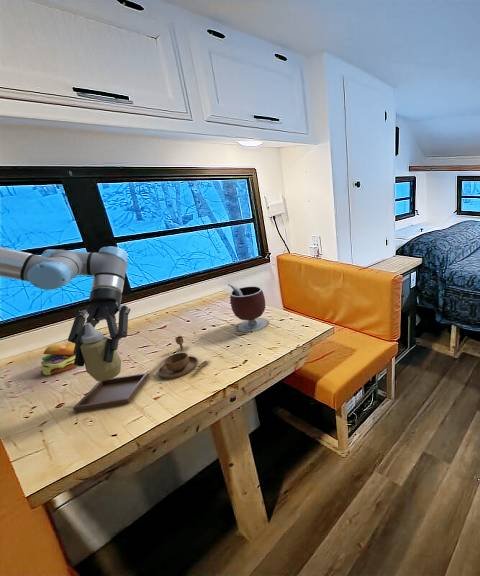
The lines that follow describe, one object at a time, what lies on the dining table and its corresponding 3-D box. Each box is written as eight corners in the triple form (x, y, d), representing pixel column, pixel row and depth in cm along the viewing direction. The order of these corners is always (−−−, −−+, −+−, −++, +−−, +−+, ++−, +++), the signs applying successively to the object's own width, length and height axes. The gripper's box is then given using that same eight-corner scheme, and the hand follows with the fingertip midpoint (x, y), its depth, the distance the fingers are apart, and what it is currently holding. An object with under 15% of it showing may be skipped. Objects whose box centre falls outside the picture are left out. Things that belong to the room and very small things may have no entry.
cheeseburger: (32, 376, 106) (28, 348, 105) (68, 365, 116) (65, 339, 115) (56, 377, 104) (53, 349, 103) (90, 366, 115) (87, 340, 114)
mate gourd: (275, 320, 143) (268, 280, 136) (256, 335, 130) (248, 291, 124) (246, 318, 147) (238, 278, 140) (226, 331, 134) (216, 289, 127)
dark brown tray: (75, 413, 88) (72, 407, 88) (103, 384, 101) (101, 379, 100) (129, 404, 91) (127, 399, 91) (149, 377, 104) (148, 372, 103)
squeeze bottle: (83, 384, 90) (59, 331, 84) (106, 368, 98) (85, 318, 91) (111, 383, 90) (89, 329, 84) (131, 367, 98) (112, 317, 91)
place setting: (142, 380, 102) (136, 365, 100) (179, 348, 121) (176, 335, 119) (193, 379, 102) (189, 364, 100) (223, 348, 121) (220, 335, 119)
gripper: (147, 293, 103) (138, 360, 94) (79, 300, 99) (63, 371, 89) (135, 283, 96) (124, 355, 87) (61, 290, 92) (41, 366, 83)
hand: (93, 363), depth 88 cm, fingers closed on squeeze bottle, 6 cm apart
